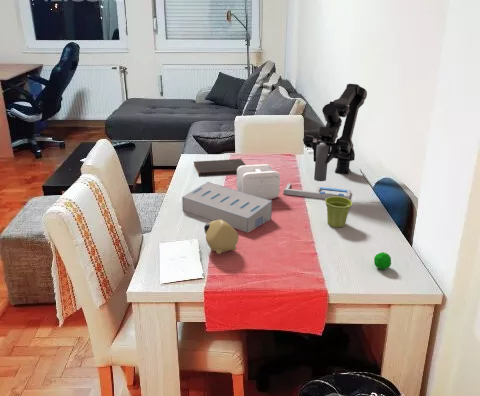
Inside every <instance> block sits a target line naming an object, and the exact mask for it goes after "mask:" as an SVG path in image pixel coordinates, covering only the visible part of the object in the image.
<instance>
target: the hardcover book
mask: <svg viewBox="0 0 480 396" xmlns="http://www.w3.org/2000/svg"><path fill="white" fill-rule="evenodd" d="M243 165H246V163H245V162H244V161H243V160H242V158H237V159H236V158H235V159H234V158H233V159H218V160H201V161H199V160H196V161H193V166H194V168H195V170H196V172H197V174H198V177H209V176H213V177H214V176H224V175H225V176H226V175H237V168H238V167H239V166H243Z"/></svg>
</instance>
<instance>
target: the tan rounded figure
mask: <svg viewBox="0 0 480 396" xmlns="http://www.w3.org/2000/svg"><path fill="white" fill-rule="evenodd" d="M203 227H204V234H205V239H206V240H205V241H206V243H207V245H208V247H209V248H210V251H212V252H214V251H215V252H216V254H218V255H220V254H222V253H225V252H229V251H231V250H232V251H236V250H237V244H238V242H239V233H238V232H237V230H236V228H233V227H232V226H230V225H229V224H228V223H227V222H225V221H223V220H220V219H218V220H215V221H213V220H211V221H209V223H206V224H204V226H203Z"/></svg>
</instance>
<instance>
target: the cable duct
mask: <svg viewBox="0 0 480 396" xmlns="http://www.w3.org/2000/svg"><path fill="white" fill-rule="evenodd" d="M291 186H292V183H289V182H288V183H287V185H286V187H285V188H283V195H289V196H299V197H305V198H315V199H322V200H325V199H326V198H329V197H344V198H347V199H349V200H350V196H351V190H350V189H343V188H341V189H340V188H332V187H325V186H324V187H323V186H317V187H316V190H315V191H312V190H311V191H310V190H302V189H301V190H300V189H292V188H291ZM321 190H323V191H321ZM324 190H325V191H334V192H341V193H338V194H336V193H328V192H325V191H324ZM344 193H346V194H344Z"/></svg>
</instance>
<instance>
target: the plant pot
mask: <svg viewBox="0 0 480 396" xmlns="http://www.w3.org/2000/svg"><path fill="white" fill-rule="evenodd" d="M324 200H325V201H324V202H325V206H326V212H327V213H326V215H327V216H326V217H327V224H328V225H330V227H333V228H340V227H342V228H343V227H344V226H346V222H347V219H348V215H349V211H350V209H351V207H352V206H353V201H352V200H351V199H350V198H349V199H347V198H344V197H329V198H326V199H324Z"/></svg>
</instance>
